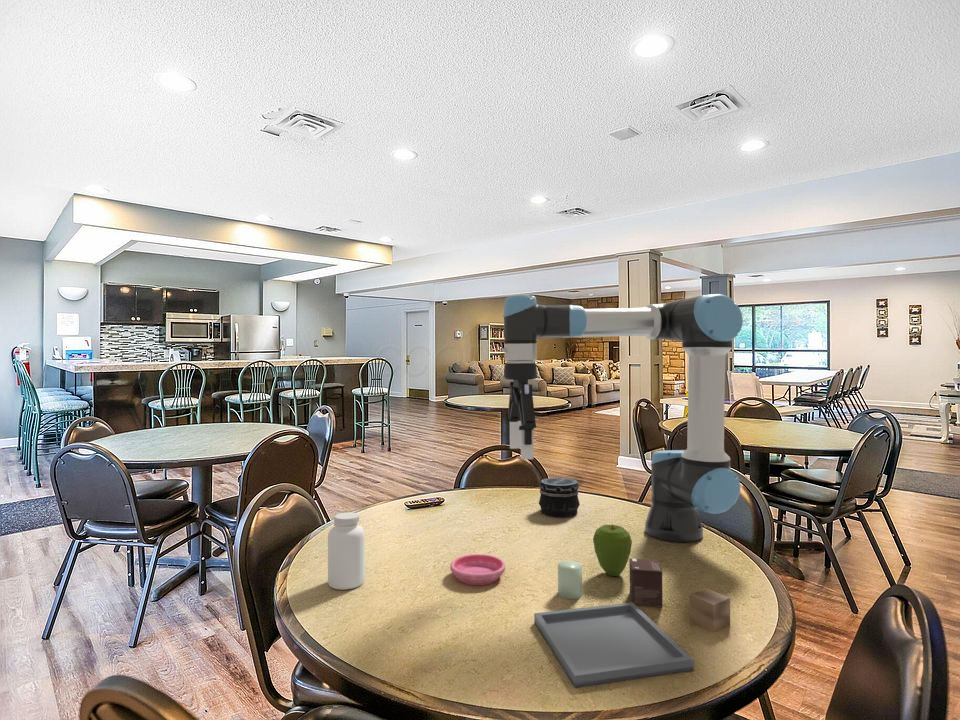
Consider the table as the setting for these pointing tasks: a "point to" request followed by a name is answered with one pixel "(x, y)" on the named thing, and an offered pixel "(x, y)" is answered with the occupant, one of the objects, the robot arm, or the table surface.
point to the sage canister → (569, 580)
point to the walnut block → (710, 609)
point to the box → (646, 582)
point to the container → (559, 497)
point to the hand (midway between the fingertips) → (521, 453)
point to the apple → (612, 548)
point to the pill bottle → (346, 552)
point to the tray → (610, 644)
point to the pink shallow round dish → (477, 569)
